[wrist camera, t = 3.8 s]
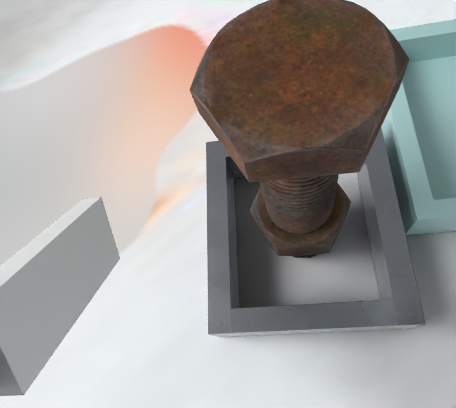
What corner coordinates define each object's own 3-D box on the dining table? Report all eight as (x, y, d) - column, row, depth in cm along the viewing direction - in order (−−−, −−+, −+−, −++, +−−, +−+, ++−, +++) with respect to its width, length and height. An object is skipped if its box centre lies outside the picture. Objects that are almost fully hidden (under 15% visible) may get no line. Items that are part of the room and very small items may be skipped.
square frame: (371, 146, 25) (379, 119, 22) (409, 328, 20) (425, 324, 18) (216, 164, 26) (206, 142, 24) (220, 337, 22) (208, 334, 19)
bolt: (284, 182, 25) (258, -32, 11) (358, 212, 23) (434, 4, 10) (242, 259, 23) (156, 122, 10) (318, 297, 22) (342, 196, 8)
